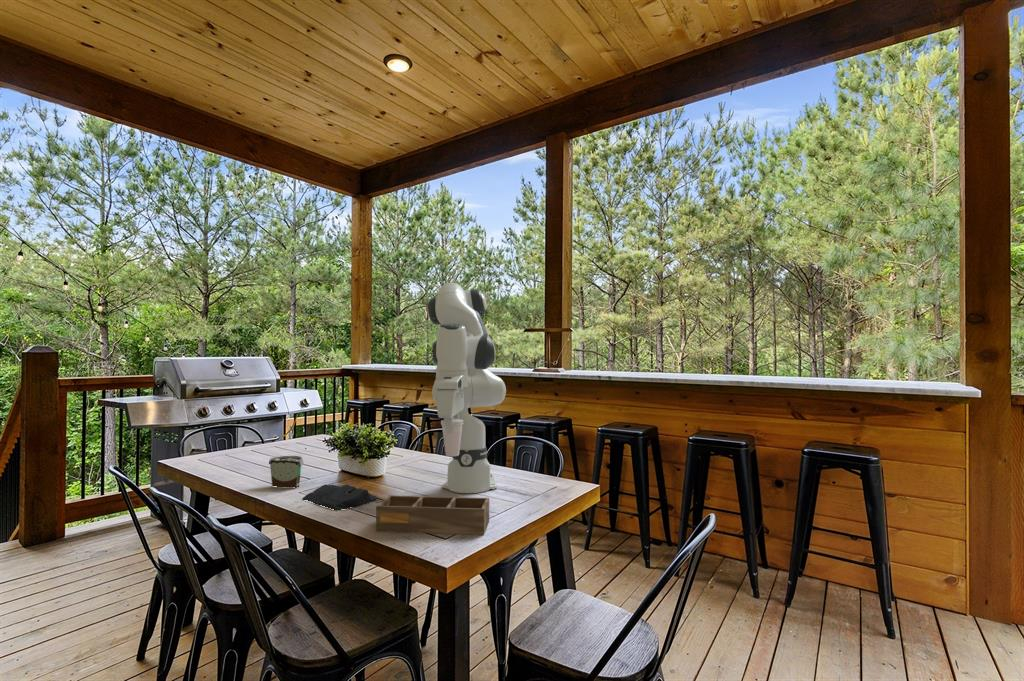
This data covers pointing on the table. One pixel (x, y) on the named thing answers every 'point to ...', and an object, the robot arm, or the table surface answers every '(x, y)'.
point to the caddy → (433, 515)
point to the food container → (286, 471)
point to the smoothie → (452, 437)
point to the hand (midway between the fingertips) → (451, 430)
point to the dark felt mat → (339, 496)
